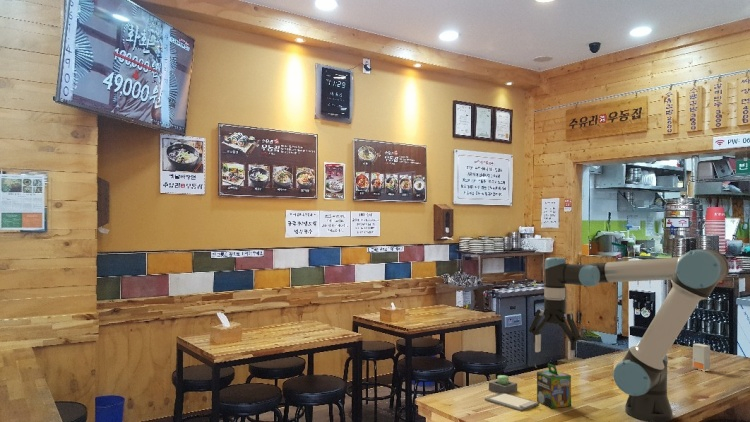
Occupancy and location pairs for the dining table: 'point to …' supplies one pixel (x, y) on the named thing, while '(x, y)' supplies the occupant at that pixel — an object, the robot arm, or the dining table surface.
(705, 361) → the skincare box
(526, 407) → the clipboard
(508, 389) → the button housing
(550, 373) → the chalk box
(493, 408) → the dining table surface
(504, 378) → the button
